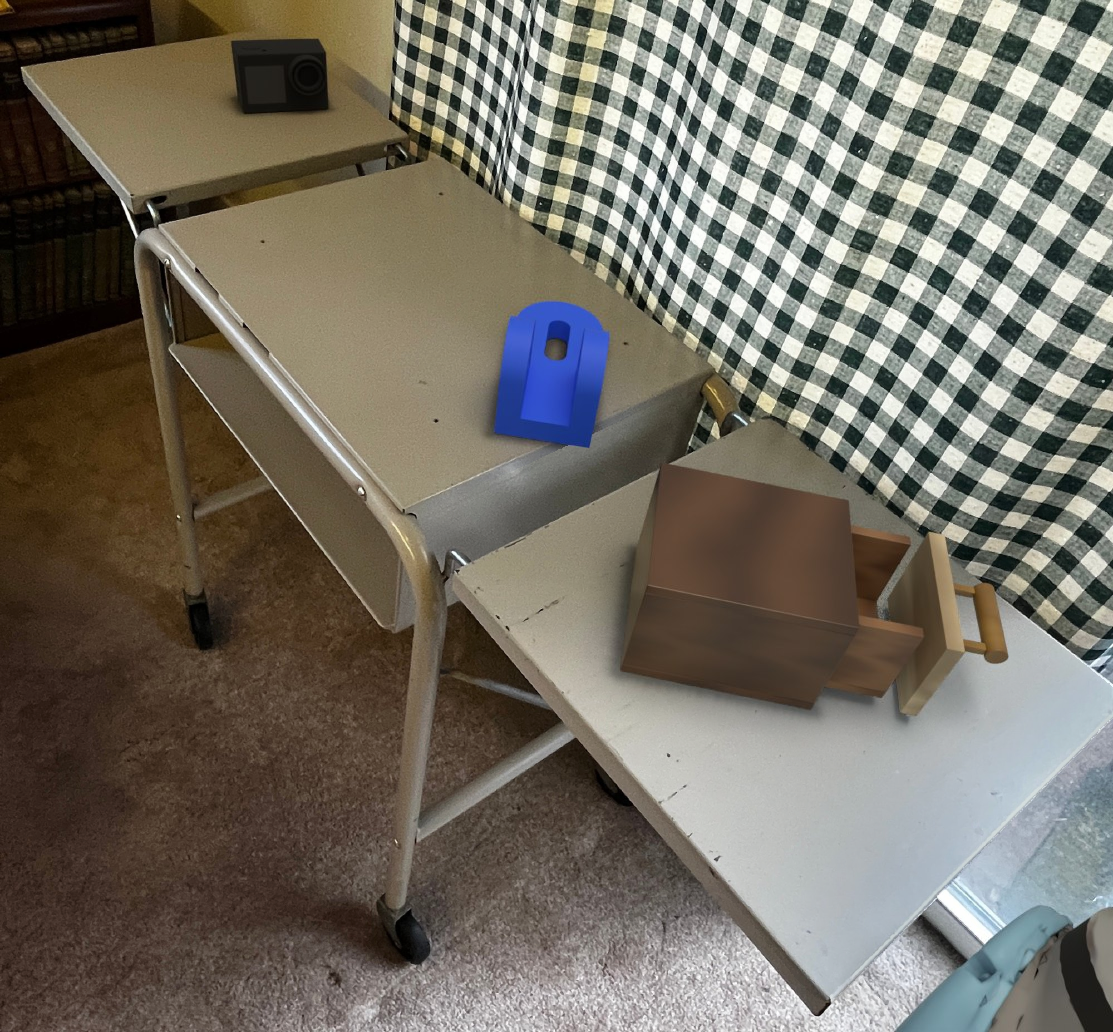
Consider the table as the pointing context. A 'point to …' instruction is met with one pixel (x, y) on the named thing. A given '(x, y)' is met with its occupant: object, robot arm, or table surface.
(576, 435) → the bracket
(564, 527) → the table surface
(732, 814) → the table surface
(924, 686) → the drawer
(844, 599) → the cabinet
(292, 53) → the digital camera
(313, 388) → the table surface
